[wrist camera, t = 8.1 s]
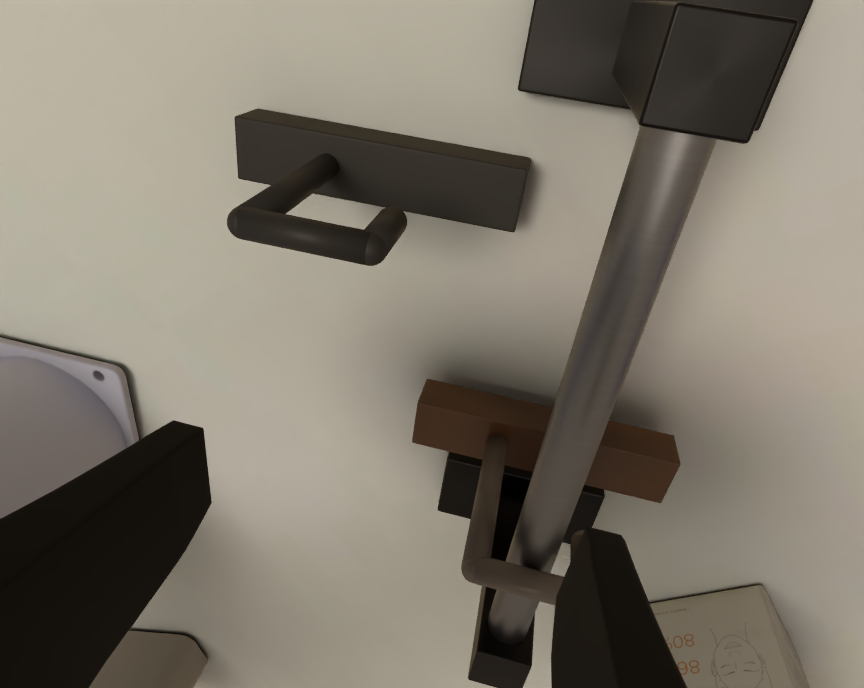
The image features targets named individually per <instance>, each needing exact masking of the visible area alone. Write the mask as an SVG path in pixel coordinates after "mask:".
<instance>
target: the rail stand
mask: <svg viewBox="0 0 864 688" xmlns="http://www.w3.org/2000/svg"><path fill="white" fill-rule="evenodd" d="M812 2H813V0H535V1H534V6H533V12H532V17H531V22H530V27H529V33H528V38H527V43H526V48H525V53H524V59H523V64H522V69H521V74H520V80H519V85H518V90H519V91H523V92H529V93H534V94H540V95H546V96H552V97H558V98H564V99H570V100H576V101H582V102H588V103H594V104H600V105H606V106H612V107H618V108H624V109H630V110H632V112H633V114H634V116H635V118H636V120H637V121H638V123H639V125H641V126H640V129H639V132H638V136H637V139H636V142H635V145H634V148H633V152H632V155H631V158H630V161H629V165H628V168H627V171H626V174H625V178H624V181H623V184H622V187H621V190H620V194H619V197H618V200H617V203H616V207H615V210H614V213H613V216H612V220H611V223H610V226H609V229H608V232H607V236H606V239H605V242H604V245H603V249H602V252H601V255H600V258H599V261H598V265H597V268H596V271H595V274H594V278H593V281H592V284H591V287H590V291H589V294H588V297H587V300H586V303H585V307H584V310H583V313H582V316H581V320H580V323H579V326H578V329H577V332H576V336H575V339H574V342H573V345H572V349H571V352H570V355H569V358H568V362H567V365H566V368H565V371H564V374H563V378H562V381H561V384H560V387H559V391H558V394H557V397H556V400H555V404H554V407H553V410H552V413H551V416H550V420H549V423H548V426H547V429H546V433H545V436H544V439H543V442H542V445H541V449H540V452H539V455H538V458H537V462H536V465H535V468H534V471H533V472H531V471H527V470H523V469H519V468H515V467H511V466H507V465H505V466H504V473H503V479H502V486H501V493H500V499H499V506H498V513H497V519H496V526H495V532H494V539H493V546H492V552H491V558H494V559H498V560H502V561H505V562H509V563H513V564H517V565H520V566H524V567H528V568H532V569H536V570H539V571H543V572H547V573H550V572H551V569H552V567H553V564H554V562H555V559H556V556H557V554H558V551H559V549H560V546H561V543H562V542H564V543H568V544H571V538H572V536H573V534H574V533H575V532H577V531H579V530H585V528H586V526H587V527H591V528H592V526H593V523H594V521H595V519H596V516H597V514H598V511H599V509H600V507H601V504H602V502H603V499H604V497H605V494H604V489H600V488H596V487H592V486H588V485H584V484H585V481H586V478H587V476H588V473H589V471H590V468H591V465H592V463H593V460H594V458H595V455H596V452H597V450H598V447H599V444H600V442H601V439H602V437H603V434H604V431H605V429H606V426H607V424H608V421H609V418H610V416H611V413H612V411H613V408H614V405H615V403H616V400H617V398H618V395H619V392H620V390H621V387H622V385H623V382H624V379H625V377H626V374H627V372H628V369H629V366H630V364H631V361H632V359H633V356H634V353H635V351H636V348H637V346H638V343H639V340H640V338H641V335H642V333H643V330H644V327H645V325H646V322H647V320H648V317H649V314H650V312H651V309H652V307H653V304H654V301H655V299H656V296H657V294H658V291H659V288H660V286H661V283H662V281H663V278H664V275H665V273H666V270H667V268H668V265H669V262H670V260H671V257H672V255H673V252H674V249H675V247H676V244H677V242H678V239H679V236H680V234H681V231H682V228H683V226H684V223H685V221H686V218H687V215H688V213H689V210H690V208H691V205H692V202H693V200H694V197H695V195H696V192H697V189H698V187H699V184H700V182H701V179H702V176H703V174H704V171H705V169H706V166H707V163H708V161H709V158H710V156H711V153H712V150H713V148H714V145H715V143H716V140H717V139H719V140H725V141H731V142H737V143H742V144H744V143H748V142H749V140H750V138H751V136H752V134H753V131H757V130H759V128H760V126H761V124H762V121H763V119H764V117H765V114H766V112H767V109H768V107H769V105H770V102H771V100H772V98H773V95H774V93H775V90H776V88H777V86H778V83H779V81H780V78H781V76H782V74H783V71H784V69H785V67H786V64H787V62H788V59H789V57H790V55H791V52H792V50H793V47H794V45H795V43H796V40H797V38H798V36H799V33H800V31H801V28H802V26H803V24H804V21H805V19H806V16H807V14H808V12H809V9H810V7H811V5H812ZM482 461H483V460H482V459H478V458H474V457H470V456H466V455H462V454H458V453H454V452H449V454H448V457H447V462H446V467H445V472H444V478H443V483H442V488H441V493H440V499H439V504H438V510H439V511H441V512H445V513H449V514H453V515H457V516H461V517H465V518H469V519H471V516H472V511H473V506H474V501H475V496H476V491H477V486H478V481H479V476H480V471H481V466H482ZM538 603H539V601H537V600H534V599H530V598H526V597H522V596H519V595H515V594H511V593H508V592H504V591H500V590H497V589H493V588H489V587H486V586H482V589H481V596H480V602H479V609H478V616H477V622H476V629H475V635H474V642H473V649H472V655H471V662H470V668H469V675H468V679H469V680H472V681H475V682H479V683H482V684H486V685H489V686H493V687H496V688H523V686H524V683H525V681H526V678H527V676H528V673H529V671H530V669H531V666H532V651H533V635H534V618H535V611H536V608H537V606H538Z"/></svg>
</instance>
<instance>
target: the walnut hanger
mask: <svg viewBox="0 0 864 688" xmlns="http://www.w3.org/2000/svg"><path fill="white" fill-rule="evenodd" d="M552 410H553V408H552V407H548V406H544V405H539V404H535V403H531V402H526V401H522V400H518V399H513V398H509V397H505V396H500V395H496V394H492V393H487V392H483V391H479V390H474V389H470V388H466V387H462V386H457V385H453V384H449V383H444V382H440V381H436V380H431V379H427V380H426V382H425V385H424V387H423V390H422V393H421V395H420V398H419V400H418V404H417V411H416V418H415V425H414V432H413V439H412V442H413V443H417V444H421V445H425V446H429V447H433V448H437V449H441V450H445V451H449V452H454V453H458V454H462V455H466V456H470V457H474V458H478V459H482V460H483V461H482V466H481V471H480V476H479V481H478V486H477V491H476V496H475V501H474V506H473V511H472V516H471V521H470V526H469V531H468V536H467V541H466V546H465V551H464V556H463V561H462V566H461V570H462V574H463V576H464V578H465V579H466V580H467V581H469V582H471V583H474V584H478V585H482V586H486V587H489V588H493V589H497V590H500V591H504V592H508V593H511V594H515V595H519V596H522V597H526V598H530V599H534V600H537V601H541V602H545V603H548V604H552V605H556V596H557V593H558V591H559V589H560V586H561V584H562V582H563V579H564V577H562V576H558V575H554V574H551V573H547V572H543V571H539V570H536V569H532V568H528V567H524V566H520V565H517V564H513V563H509V562H505V561H502V560H498V559H494V558H491V552H492V546H493V539H494V532H495V526H496V519H497V513H498V506H499V499H500V493H501V486H502V479H503V473H504V466H505V465H507V466H511V467H515V468H519V469H523V470H527V471H531V472H533V471H534V468H535V465H536V462H537V458H538V455H539V452H540V449H541V445H542V442H543V439H544V436H545V433H546V429H547V426H548V423H549V420H550V416H551V413H552ZM679 466H680V460H679V456H678V451H677V447H676V442H675V438H674V436H673V435H669V434H665V433H661V432H656V431H652V430H648V429H643V428H639V427H635V426H630V425H626V424H622V423H617V422H613V421H608V424H607V426H606V429H605V431H604V434H603V437H602V439H601V442H600V444H599V447H598V450H597V452H596V455H595V458H594V460H593V463H592V465H591V468H590V471H589V473H588V476H587V478H586V481H585V484H584V485H588V486H592V487H596V488H600V489H605V490H609V491H613V492H617V493H621V494H625V495H629V496H633V497H637V498H641V499H645V500H649V501H654V502H658V503H661V502H662V500H663V498H664V496H665V494H666V492H667V490H668V488H669V486H670V484H671V482H672V480H673V478H674V476H675V474H676V472H677V470H678V468H679ZM583 533H584V530H579V531H577V532H575V533H574V534H573V536H572V538H571V560H570V563H571V561H572V558H573V556H574V554H575V551H576V549H577V547H578V544H579V542H580V540H581V537H582V535H583Z"/></svg>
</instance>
